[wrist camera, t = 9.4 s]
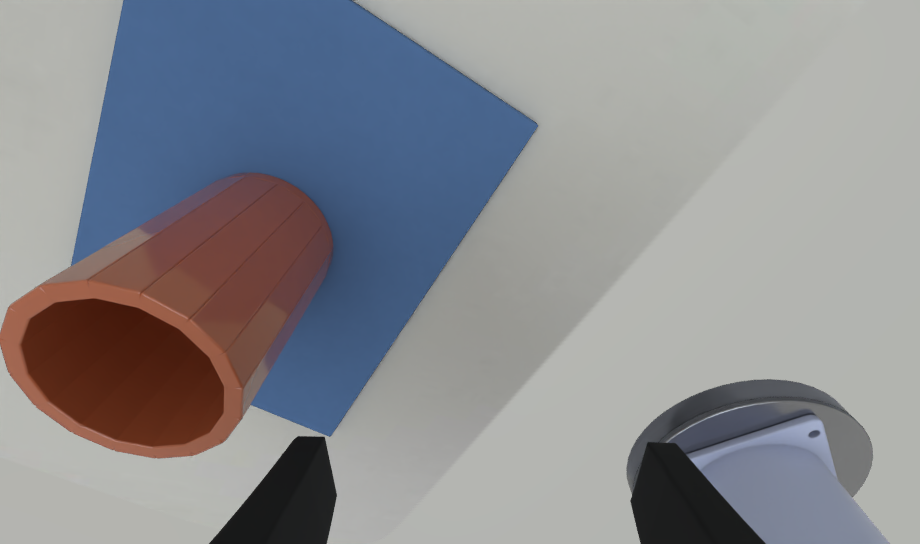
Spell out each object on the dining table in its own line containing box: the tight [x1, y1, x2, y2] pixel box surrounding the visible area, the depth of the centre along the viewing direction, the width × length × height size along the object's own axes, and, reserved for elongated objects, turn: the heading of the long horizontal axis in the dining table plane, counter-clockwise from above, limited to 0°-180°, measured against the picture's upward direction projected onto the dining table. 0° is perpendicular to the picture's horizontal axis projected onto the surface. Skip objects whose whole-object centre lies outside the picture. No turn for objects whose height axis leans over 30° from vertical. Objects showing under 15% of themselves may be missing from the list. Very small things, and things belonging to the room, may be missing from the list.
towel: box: [71, 0, 538, 437], centre depth 17 cm, size 18×13×1 cm
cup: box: [0, 172, 333, 458], centre depth 14 cm, size 5×5×8 cm
